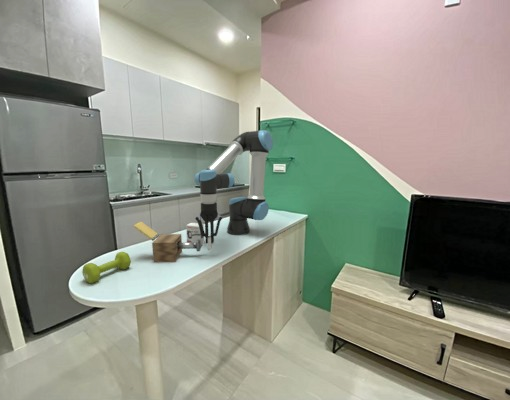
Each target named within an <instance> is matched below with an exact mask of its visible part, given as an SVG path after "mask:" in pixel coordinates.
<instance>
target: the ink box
mask: <svg viewBox="0 0 510 400" xmlns="http://www.w3.org/2000/svg"><path fill="white" fill-rule="evenodd" d="M202 225H203V229H204V230H205V224H204V223H202ZM185 227H186V243H188V242H197V240H201V247H202V246H203V245H204V244H205V237H204V236H202V235H201V232H200V228H199V225H198V222H190V223H188V224H186V225H185Z"/></svg>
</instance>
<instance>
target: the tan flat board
mask: <svg viewBox="0 0 510 400" xmlns="http://www.w3.org/2000/svg"><path fill="white" fill-rule="evenodd" d="M132 227H133V228H134V229H136V230H137V231H139V232H140V233H142V235H144V236H145V237H147V238H148V239H150V240H151V241H152V242H154V241H155V240H156V239H157V238H158V237H159V236H160V234H159V233H157V232H156V231H155V230H153V229H152V228H151V227H150V226H148V225H147V224H145V223H144V222H143V221H139V222H138V223H137V222H136V223H135V224H134V225H133V226H132Z"/></svg>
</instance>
